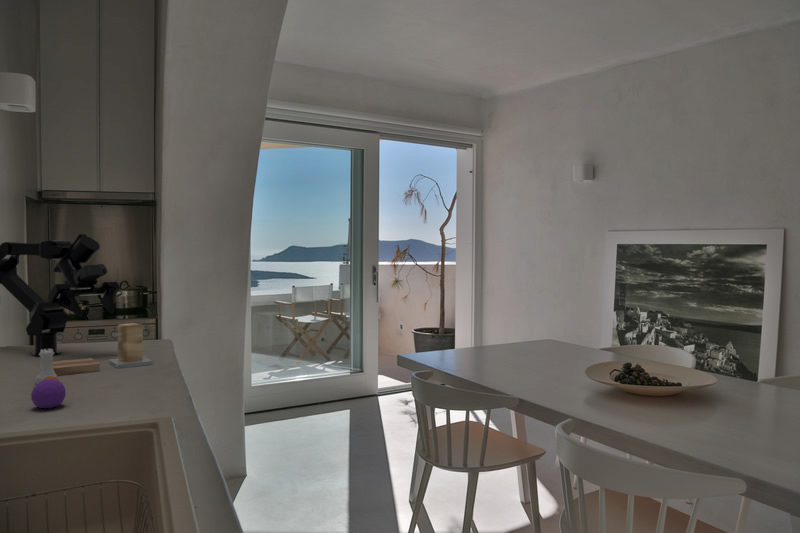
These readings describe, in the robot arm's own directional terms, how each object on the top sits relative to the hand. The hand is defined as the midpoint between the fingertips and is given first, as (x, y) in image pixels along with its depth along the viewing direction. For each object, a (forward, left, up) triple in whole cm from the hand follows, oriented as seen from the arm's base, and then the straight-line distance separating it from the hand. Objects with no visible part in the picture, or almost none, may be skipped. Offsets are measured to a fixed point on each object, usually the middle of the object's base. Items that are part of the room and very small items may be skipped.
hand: (97, 314), depth 164 cm
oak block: (+9, +6, -12) cm, 17 cm away
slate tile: (+9, +6, -13) cm, 17 cm away
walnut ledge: (+10, -8, -13) cm, 19 cm away
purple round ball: (+39, -18, -14) cm, 45 cm away
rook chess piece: (+22, -16, -14) cm, 30 cm away
